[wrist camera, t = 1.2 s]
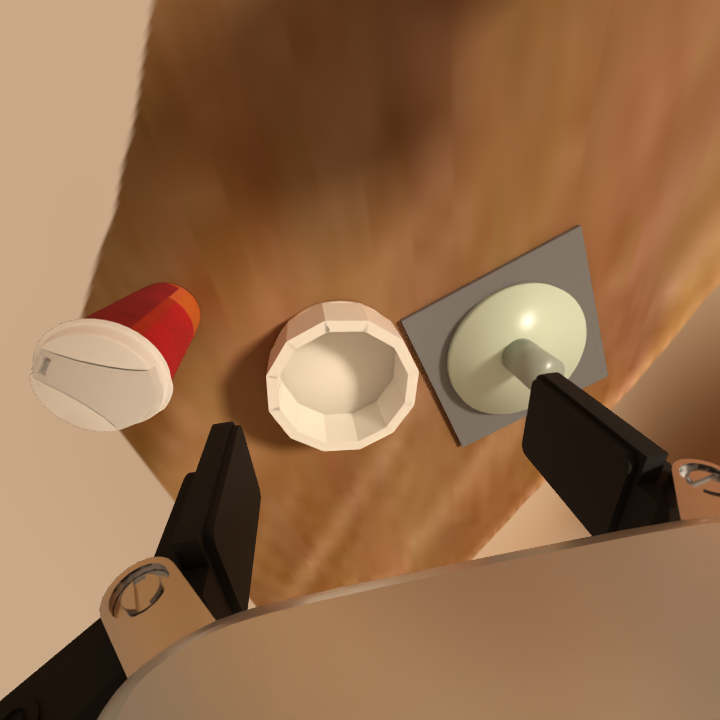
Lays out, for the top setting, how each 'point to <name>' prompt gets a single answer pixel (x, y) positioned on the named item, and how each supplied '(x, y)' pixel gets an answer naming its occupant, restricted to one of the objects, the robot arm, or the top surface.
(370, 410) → the bowl
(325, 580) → the top surface
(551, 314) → the lid
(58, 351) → the paper cup
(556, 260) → the mat
